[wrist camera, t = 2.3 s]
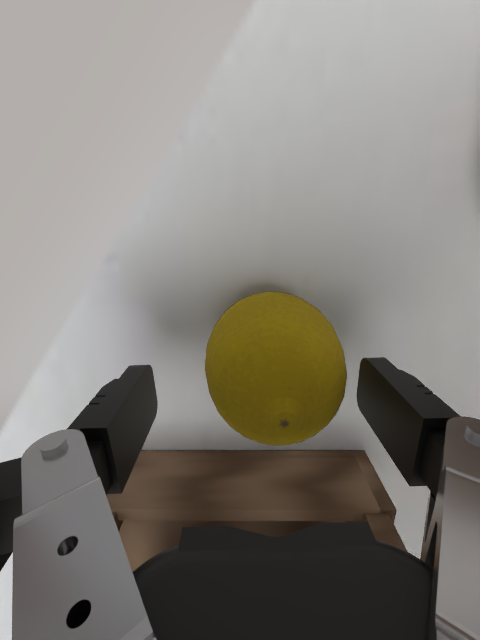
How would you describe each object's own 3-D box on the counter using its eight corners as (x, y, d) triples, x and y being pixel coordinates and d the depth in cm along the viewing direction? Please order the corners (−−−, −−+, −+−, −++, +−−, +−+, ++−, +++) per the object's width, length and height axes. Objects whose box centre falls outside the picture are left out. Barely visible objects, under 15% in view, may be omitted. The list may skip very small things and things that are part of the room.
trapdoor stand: (364, 450, 18) (509, 720, 8) (342, 590, 22) (419, 875, 13) (58, 450, 18) (-157, 709, 9) (95, 588, 23) (-17, 862, 13)
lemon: (217, 274, 15) (188, 325, 7) (322, 281, 15) (408, 339, 7) (213, 368, 16) (187, 491, 9) (308, 374, 16) (363, 502, 9)
